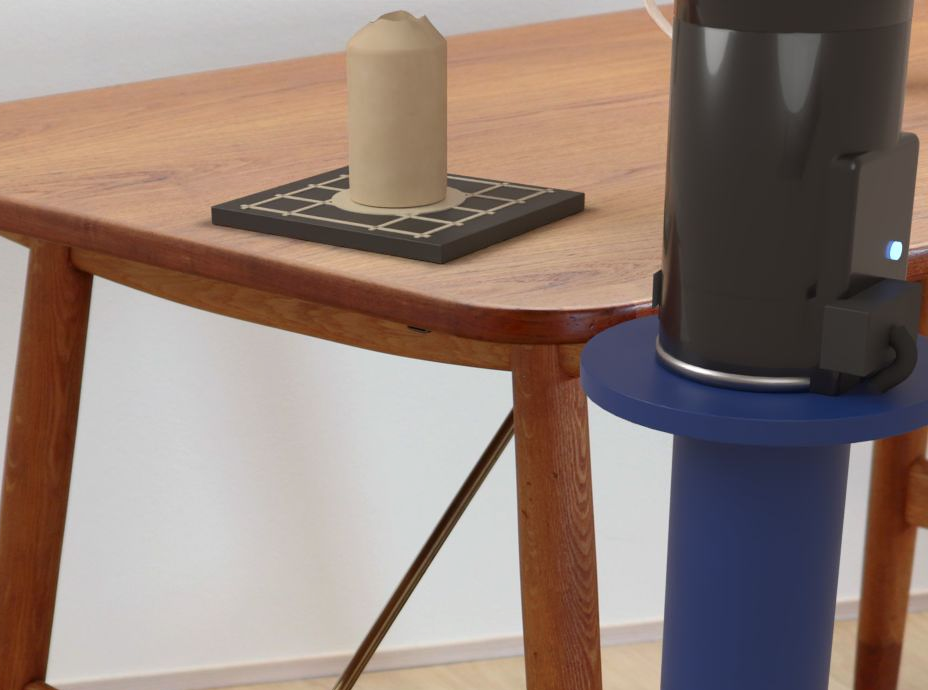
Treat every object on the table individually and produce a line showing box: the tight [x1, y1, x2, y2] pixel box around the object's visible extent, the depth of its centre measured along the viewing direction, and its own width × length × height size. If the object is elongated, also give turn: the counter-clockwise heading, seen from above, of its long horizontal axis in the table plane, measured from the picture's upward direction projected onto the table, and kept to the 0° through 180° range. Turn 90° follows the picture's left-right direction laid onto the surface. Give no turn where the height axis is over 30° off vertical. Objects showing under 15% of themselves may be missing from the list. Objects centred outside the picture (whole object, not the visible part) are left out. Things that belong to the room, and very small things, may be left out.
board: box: [210, 164, 586, 265], centre depth 109 cm, size 16×14×1 cm
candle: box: [345, 9, 448, 207], centre depth 107 cm, size 6×6×10 cm
